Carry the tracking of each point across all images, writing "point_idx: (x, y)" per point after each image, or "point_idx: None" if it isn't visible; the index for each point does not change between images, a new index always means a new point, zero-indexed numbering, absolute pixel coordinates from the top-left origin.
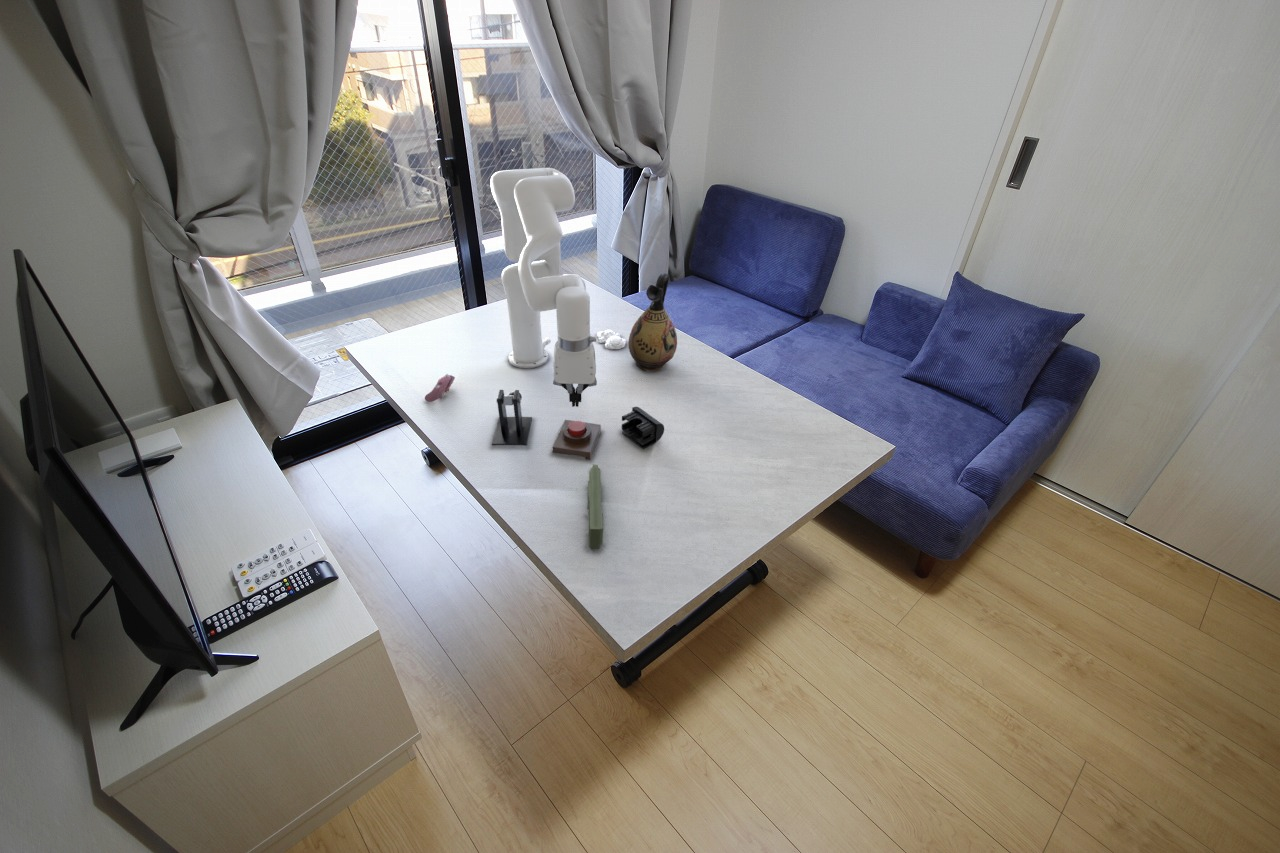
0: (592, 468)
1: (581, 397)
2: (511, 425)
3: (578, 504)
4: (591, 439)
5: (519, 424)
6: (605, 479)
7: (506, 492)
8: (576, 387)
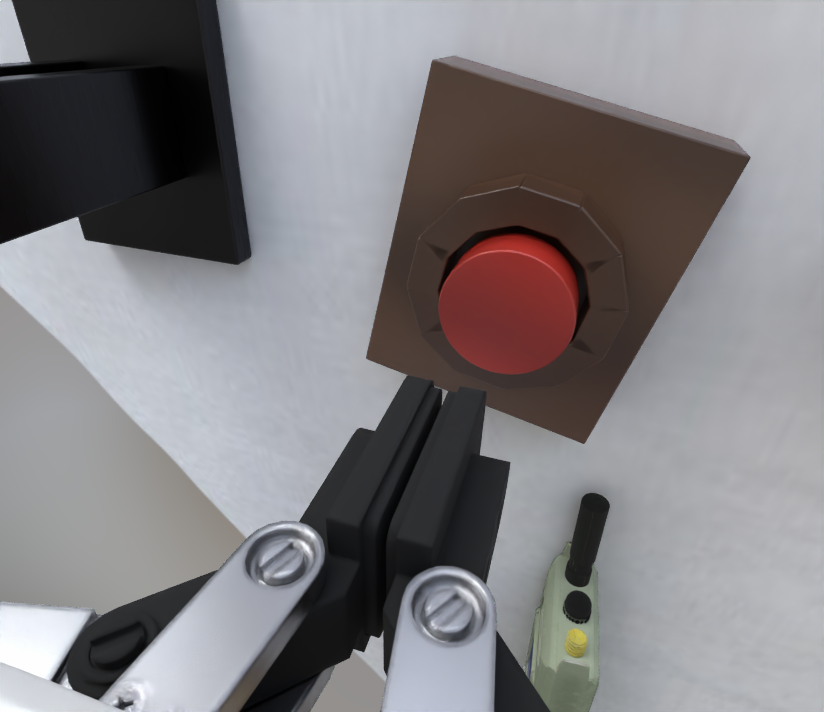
0: (555, 678)
1: (507, 470)
2: (104, 66)
3: (499, 600)
4: (617, 336)
5: (125, 197)
6: (640, 533)
7: (246, 487)
8: (383, 618)
